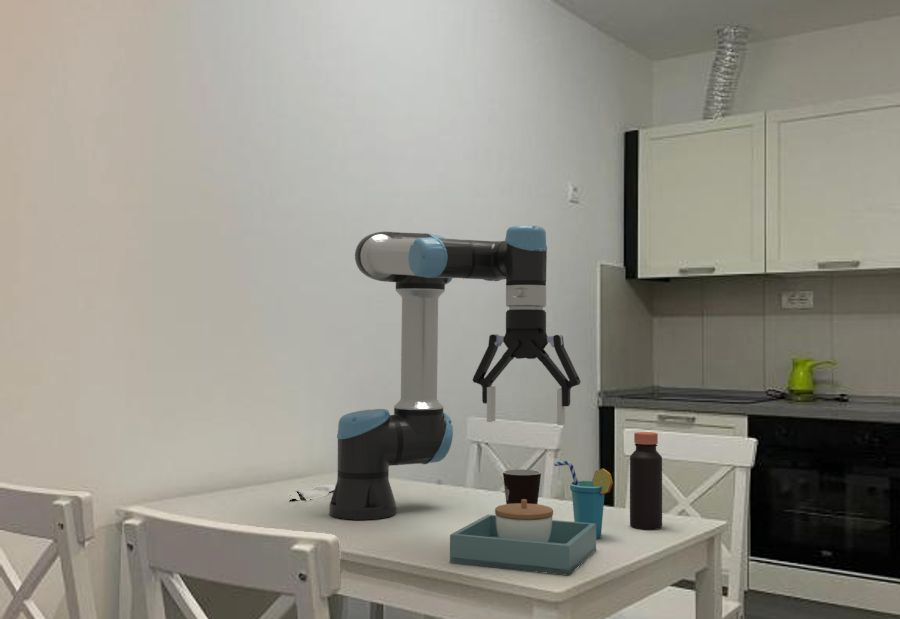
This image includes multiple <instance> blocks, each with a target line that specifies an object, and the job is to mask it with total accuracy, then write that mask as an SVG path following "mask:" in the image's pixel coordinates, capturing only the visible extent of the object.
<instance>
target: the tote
mask: <svg viewBox="0 0 900 619" xmlns="http://www.w3.org/2000/svg"><path fill="white" fill-rule="evenodd" d="M596 551H597V539H596V524H595V523H583V522H574V521H570V520H557V519H552V530H551V535H550V538H549V540H548V542H536V541H526V540H515V539H505V538H499V536H498V533H497V528H496V514H486V515H484V516H483V517H481V518H478V519H477V520H474V521H473V522H471V523H469V524H467V525H465V526H464V527H462V528H460V529H458V530H456V531H454V532H453V533H451V534H449V563H450V564H451V563H452V564H460V565H466V566H467V565H470V566H476V565H478V566H479V567H486V566H488V567H487V568H495V567H496V568H497V569H504V568H507V569H506V570H513V569H515V571H523V570H525V571H524V572H532V571H537V572H536V573H541V572H547V573H546V574H550V573H556V574H555V575H559V574H566V575H565V576H571V575H572V574H573V573H574V572H575V571H576V570H577V569H578V568H579V567H580V566H581V565H582V564H583V563H584V562H586V560H587V559H589V558H590V557H591V555H593V553H594V552H596ZM581 563H582V564H581ZM580 564H581V565H580ZM579 565H580V566H579ZM578 566H579V567H578ZM577 567H578V568H577ZM576 568H577V569H576ZM575 569H576V570H575ZM574 570H575V571H574ZM573 571H574V572H573ZM572 572H573V573H572Z"/></svg>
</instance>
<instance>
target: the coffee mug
mask: <svg viewBox="0 0 900 619" xmlns="http://www.w3.org/2000/svg"><path fill="white" fill-rule="evenodd" d="M541 475H542V471H539V470H535V469H524V468H523V469H519V468H518V469H505V470H503V471H502V476H503V477H502V478H503V484H504V485H503V486H504V493H505V494H504V496H505V504H515V503H521V500H522V499H526V500H527V503H528V504H539V503H538V502H539V493H540V487H541V486H540V485H541V479H542V478H541Z"/></svg>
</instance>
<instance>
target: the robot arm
mask: <svg viewBox="0 0 900 619" xmlns="http://www.w3.org/2000/svg"><path fill="white" fill-rule="evenodd" d="M504 239H505V240H500V241H499V240H498V241H497V240H494V241H493V240H479V239H478V240H477V239H476V240H475V239H457V238H445V237H444V236H442V235H438V234H432V233H419V232H417V233H416V232H395V231H378V232H374V233H371V234H370V233H369V234H367V235H366V236H364V237H363V238H362V239H361V240H360V241H359V243H358V244H357V246H356V248H355V252H354V261H355V263H356V266H357V269H358V270H359V272H361V273H362V274H363V275H365V276H366V277H368V278H370V279H372V280H374V281H379V282H385V283H386V282H387V283H395V292H397V293H398V295H399V296H400V297H401V336H400V337H401V340H400V341H401V343H400V344H401V346H400V350H401V351H400V356H401V357H400V367H401V368H400V398H399V401H398V402H397V403H396V404H394V406H393V414H390V412H389V410H388V409H384V408H375V409H363V410H358V411H357V410H356V411H354V412H349V413H346V414H344V415H342V416H341V417H340V418H339V420H338V425H337V428H338V429H337V435H336V438H337V480H336V483H335V485H336V486H335V489H334V491H332V496H331V499H330V503H329V508H328V509H329V511H328V512H329V516H331V517H334V518H337V519H341V520H343V519H344V520H355V521H356V520H357V521H360V520H361V521H363V520H364V521H365V520H368V521H369V520H379V519H384V518H385V519H386V518H389V517H392V516H394V515H396V514H397V503H396V500H395V497H394V496H395V495H394V493H393V490H392V486H391V484H390V483H391V482H390V480H389V478H390V477H389V470H390V466H405V465H407V466H408V465H419V464H421V465H428V464H432V463H438V462H440V461H442V460H444V459H445V458H446V456H447V455H448V453H449V452H450V450H451V446H452V442H453V435H454V427H453V424H452V419H451V417H450V416H449V414H447V413H445V412H444V405H443V404H442V403H441V402H440V401H439V400H438V357H439V356H438V349H439V348H438V347H439V346H438V345H439V343H438V341H439V340H438V338H439V299H440V297H441V296H442V295H443V293H444V292H445V290H446V289H445V288H446V287H445V286H446V285H448V284H449V283H451V281H452V280H453V279H463V280H464V279H467V280H468V279H469V280H483V281H487V282H500V281H502V280H505V281H506V282H505V306H506V307H507V308H508V309H507V310H506V311H505V334H504V335H499V334H496V333H495V334H494V333H493V334H490V335H489V337H488V338H489V339H488V345H487V348H486V350H485V352H484V354H483V356H482V358H481V361H480V363H479V365H478V367H477V369H476V371H475V373H474V375H473V378H472V381H473V382H472V383H475V384H478V385H480V386H481V389H482V392H481V394H482V398H481V399H482V400H481V401H482V404H486V422H487V423H492V422H496V388H497V387H496V386H494V385H493V383H494V382H495V381H496V379H498V377H499V376H500V375H501V373H502V372H503V371H504V370H505V369H506V368H507V367H508V365H509V364H510V363H511V361H513V360H514V359H518V360H519V359H527V360H529V359H530V360H534V359H537V360H539V362H540V363H542V365H543V366H544V367H545V369H546V370H547V371H548V372H549V374H550V375H551V377H553V379H554V380H555V381H556V382H557V384H558V385H559V386H560V387H561V388H557V390H556V393H557V394H556V411H557V412H556V416H557V417H556V425H557V426H564V425H566V407H570V405H571V389H572V388H574V387H576V386H579V385H580V384H581V381H582V380H581V379H580V377H579V375H578V373H577V370H576V369H575V367H574V364H573V362H572V360H571V359H570V356H569V355H568V352H567V350H566V348H565V343H564V337H563V335H562V334H555V335H550V336H548V335H547V312H546V310H545V309H544V308H546V307H547V261H548V260H547V256H548V254H547V253H548V252H547V251H548V246H547V233H546V230H545V228H544V227H542V226H540V225H530V224H529V225H526V224H524V225H512V226H509V227H508V228H507V230H506V233H505V238H504ZM503 343H504V345H505V347H506V348H507V349H506V351H505V352H504V353H503V354H502V356H501V358H499V360H498V362H497V363H496V364H495V365H494V366H493V367H492V369H491V370H490V371H489V372H488V370H489V368H490V366H491V364H492V361H493V360H494V359H495V356H496V354H497V352H498V349H499V347H501V346H502V344H503ZM548 344H549V345H550V346H551V347H552V348H554V350H555V353H556V356H557V357H558V359H559V362H560V363H561V365H562V367H563V368H562V369H564V371H565V373H566V376H567V377H566V376H565V375H564V374H563V372H562V371H561V369H560V368H559V367H558V366H557V364H556V363H555V362H554V360H552V358H551V357H550V355H549V354H548V352H547V351H546V350H545V348H546V347H547V345H548ZM487 372H488V374H487ZM486 374H487V375H486Z"/></svg>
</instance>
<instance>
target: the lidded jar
mask: <svg viewBox="0 0 900 619" xmlns="http://www.w3.org/2000/svg"><path fill="white" fill-rule="evenodd" d="M494 509H495V510H494V512H495V513H494V515H496V528H497V533H498V536H499V538H505V539H515V540H526V541H536V542H548V540H549V538H550V535H551V530H552V520H553V516H554V509H553V508H552V507H550V506H548V505H544V504H539V503H538V504H528V503H527V500H526V499H522V500H521V503H515V504H506V503H505V504H502V505H501V504H500V505H498V506H496V507H495V508H494Z"/></svg>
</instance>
